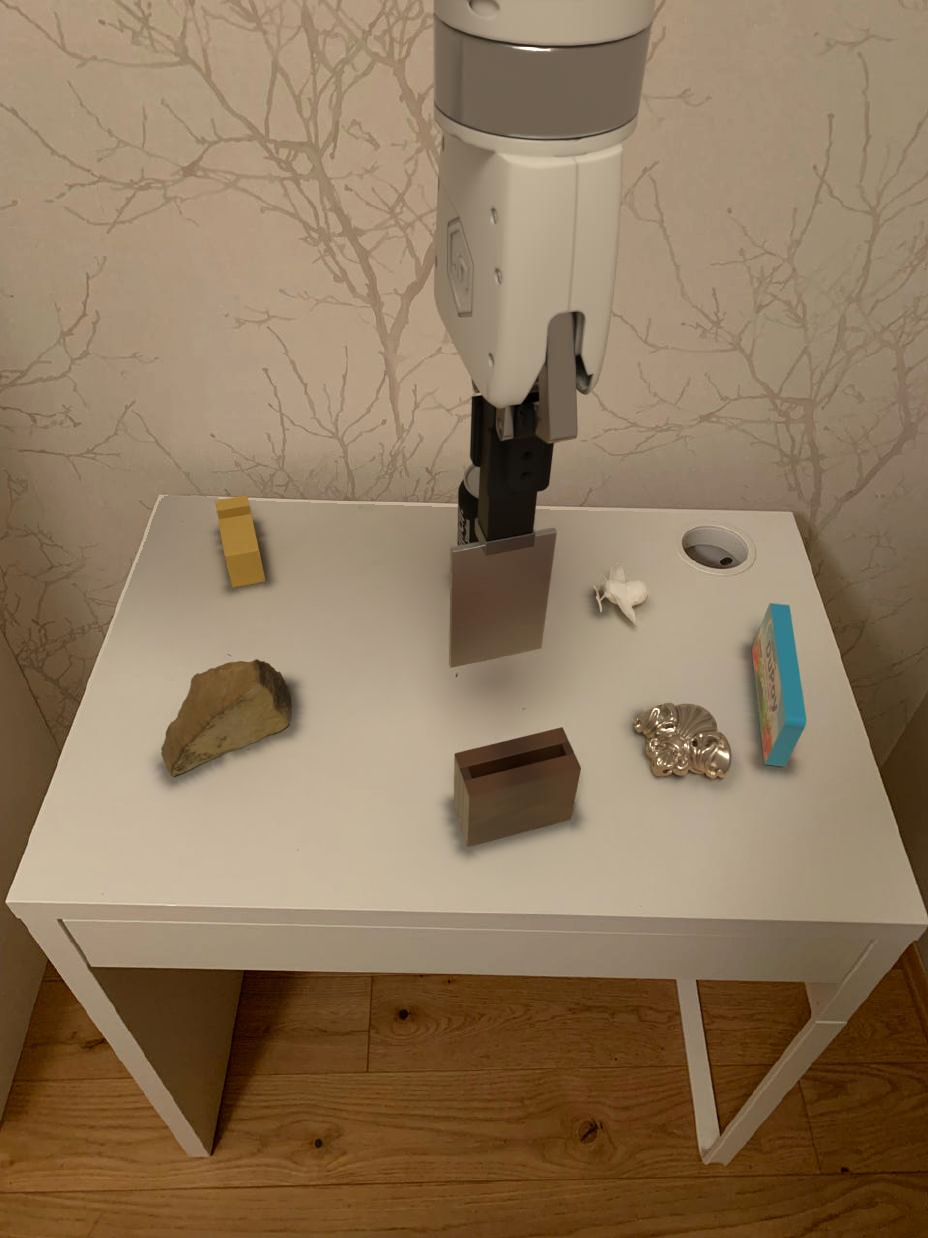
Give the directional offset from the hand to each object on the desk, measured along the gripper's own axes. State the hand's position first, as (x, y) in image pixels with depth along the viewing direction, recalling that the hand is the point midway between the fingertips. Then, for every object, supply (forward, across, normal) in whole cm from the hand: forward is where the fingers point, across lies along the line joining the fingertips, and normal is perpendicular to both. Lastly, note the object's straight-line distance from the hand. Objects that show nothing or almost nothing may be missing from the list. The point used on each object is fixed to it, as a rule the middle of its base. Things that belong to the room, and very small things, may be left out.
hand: (508, 473), depth 46 cm
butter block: (+31, -29, -14) cm, 44 cm away
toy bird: (+31, -15, +17) cm, 38 cm away
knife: (+15, 0, 0) cm, 15 cm away
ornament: (+31, +1, +15) cm, 34 cm away
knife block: (+30, +2, +1) cm, 31 cm away
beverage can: (+31, -21, +7) cm, 38 cm away
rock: (+31, -10, -18) cm, 37 cm away
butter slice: (+31, -33, -14) cm, 47 cm away
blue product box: (+31, -1, +24) cm, 39 cm away
